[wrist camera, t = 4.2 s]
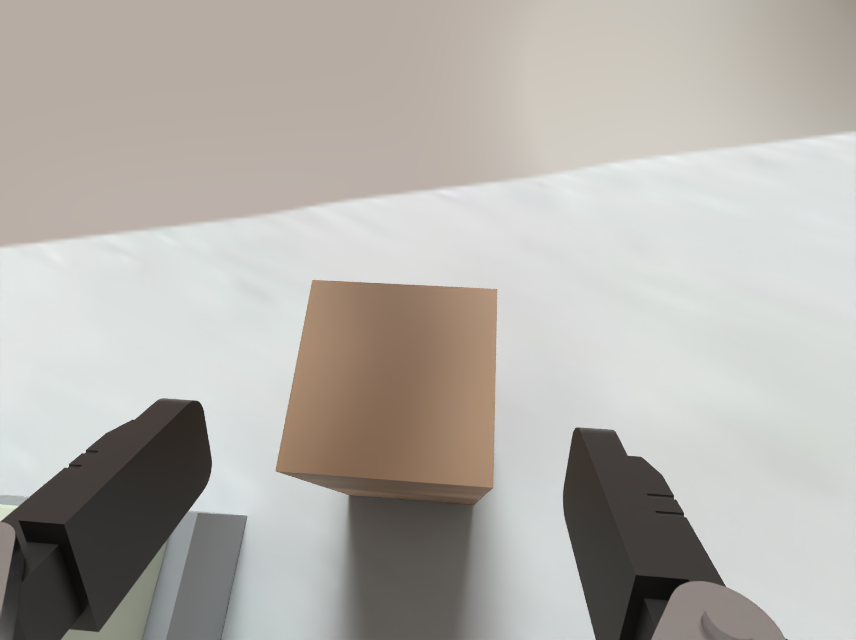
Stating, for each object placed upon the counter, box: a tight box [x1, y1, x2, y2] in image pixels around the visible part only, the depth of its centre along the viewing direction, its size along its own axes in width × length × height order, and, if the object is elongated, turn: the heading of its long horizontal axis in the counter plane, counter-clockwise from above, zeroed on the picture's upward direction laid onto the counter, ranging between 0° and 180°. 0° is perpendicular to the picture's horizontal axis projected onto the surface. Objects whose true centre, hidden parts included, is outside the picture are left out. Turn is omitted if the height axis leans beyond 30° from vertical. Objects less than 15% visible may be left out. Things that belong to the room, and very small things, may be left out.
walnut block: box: [276, 280, 497, 505], centre depth 14 cm, size 4×4×8 cm
